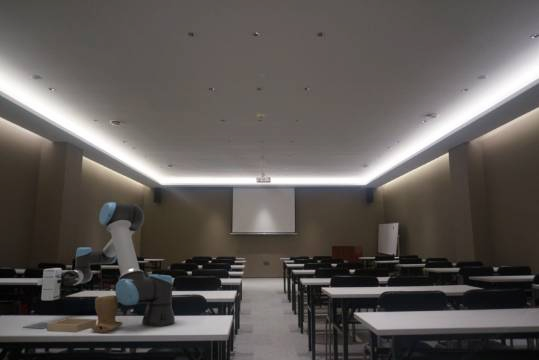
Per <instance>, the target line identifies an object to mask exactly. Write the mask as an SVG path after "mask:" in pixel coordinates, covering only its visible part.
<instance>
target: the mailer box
mask: <svg viewBox="0 0 539 360" xmlns="http://www.w3.org/2000/svg"><path fill="white" fill-rule="evenodd" d="M47 323H48V325H47V328H46V331H47V332H65V333H78V332H81V331H85V330H88V329H92V328H93V327H94V326H96V325H97V324H98V318H97V319H96V318H74V317H73V318H69V317H68V318H65V319H61V320H57V321H53V322H47Z"/></svg>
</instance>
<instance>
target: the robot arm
mask: <svg viewBox="0 0 539 360" xmlns="http://www.w3.org/2000/svg"><path fill="white" fill-rule="evenodd" d="M98 219H99V220H98V221H99V223H100V225H101V226H105V228H106V231H107V232H108V233H110V234H111V239H110V240H109V241H107V244H106V245H105V246H104V247H103V249H102V250H92V247H77V249H76V252H75V253H76V254H75V264H74V266H75V267H74V270H67V271H65V272H64V273H63V274H61V278H56V279H52V282H51V285H57V284H61V285H64V286H67V287H70V286H76V285H80V284H85V283H88V282H90V281H91V280H92V278H93V275H94V274H93V272H92V270H91V265H110V264H115V263H116V261H117V264H118V265H117V266H118V269H119V273H120V276H119V277H118V279H117V280H118V281H117V282H116V283H115V290H114V292H115V295H116V297H117V299H118V303H120V304H122V305H123V306H134V305H140V304H146V308H145V312H144V314H143V317H142V322H141V324H142V325H141V326H145V327H164V326H171V325H173V324H175V321H176V318H175V314H174V310H173V308H172V302H173V301H172V299H173V286H174V285H173V284H174V283H173V277H172V276H171V275H167V274H166V275H165V274H155V273H154V274H153V273H149V274H148V276H146V275H145V271H144V270H142V269H140V265H139V261H138V259H137V254H136V251H135V247H134V242H133V239H132V236H133V235H134V233H135V232H138V231H139V230H140V229H141V227H142V226H143V224H144V223H145V222H144V221H145V213H144V210H143V209H142V208H141V207H140V206H139V205H137V204H132V203H121V202H114V201H113V202H111V201H110V202H109V201H108V202H106V203H104V204H103V206H102V207H101V209H100V213H99V218H98ZM42 284H43V277H41V278H38V279H37V284H36V285H37V286H42Z"/></svg>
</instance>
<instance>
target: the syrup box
mask: <svg viewBox="0 0 539 360" xmlns="http://www.w3.org/2000/svg"><path fill="white" fill-rule="evenodd" d="M62 271H63V269H62V268H61V267H51V268H45V269H43V272H42V273H43V274H42V278H43V284H42V285H41V297H40V299H41V301H54V300H59V299H60V298H61V296H60V295H61V287H62V286H61V285H62V283H61V284H57V285H51V282H52V279H56V278H61V275H62Z"/></svg>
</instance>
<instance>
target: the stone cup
mask: <svg viewBox="0 0 539 360" xmlns="http://www.w3.org/2000/svg"><path fill="white" fill-rule="evenodd" d="M118 306H119V301H118V299H117V297H116V294H112V295H105V296H99V297H95V300H94V309H95V313H96V315H97V319H98V324H97V325H96V326H94V327H91V330H92V331H93V332H96V333H99V334H100V333H103V334H104V333H107V332H109V331H112V330H115V329H117V328H118V327H119V328H120V326H122V325H123V324H124V323H123V322H121V321H117V319H116V316H117V312H118Z"/></svg>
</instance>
